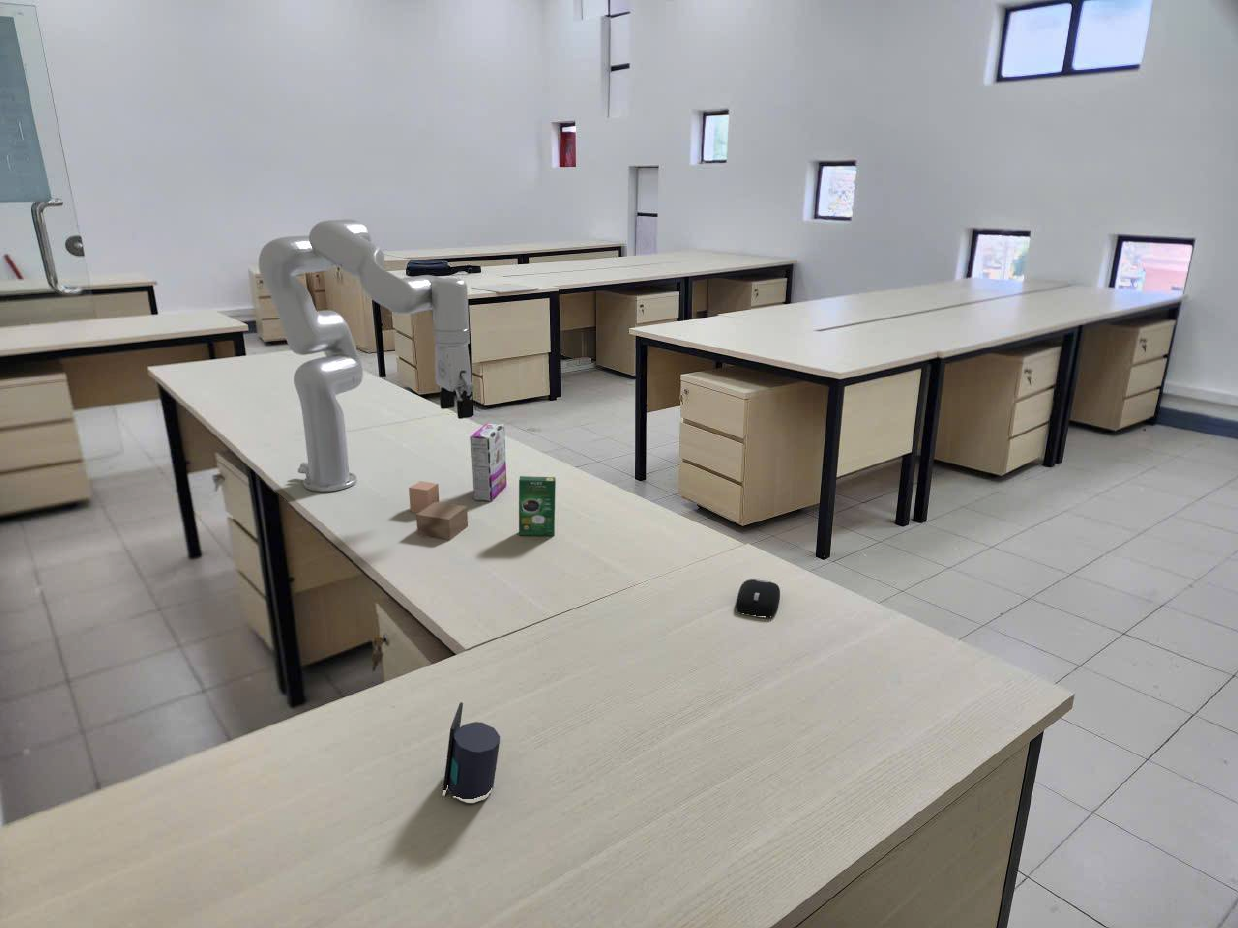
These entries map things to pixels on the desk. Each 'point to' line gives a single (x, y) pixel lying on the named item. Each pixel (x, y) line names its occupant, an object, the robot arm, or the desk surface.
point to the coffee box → (537, 506)
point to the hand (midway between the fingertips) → (456, 412)
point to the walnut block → (442, 520)
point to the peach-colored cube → (423, 495)
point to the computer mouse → (758, 598)
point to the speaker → (471, 758)
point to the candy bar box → (488, 461)
